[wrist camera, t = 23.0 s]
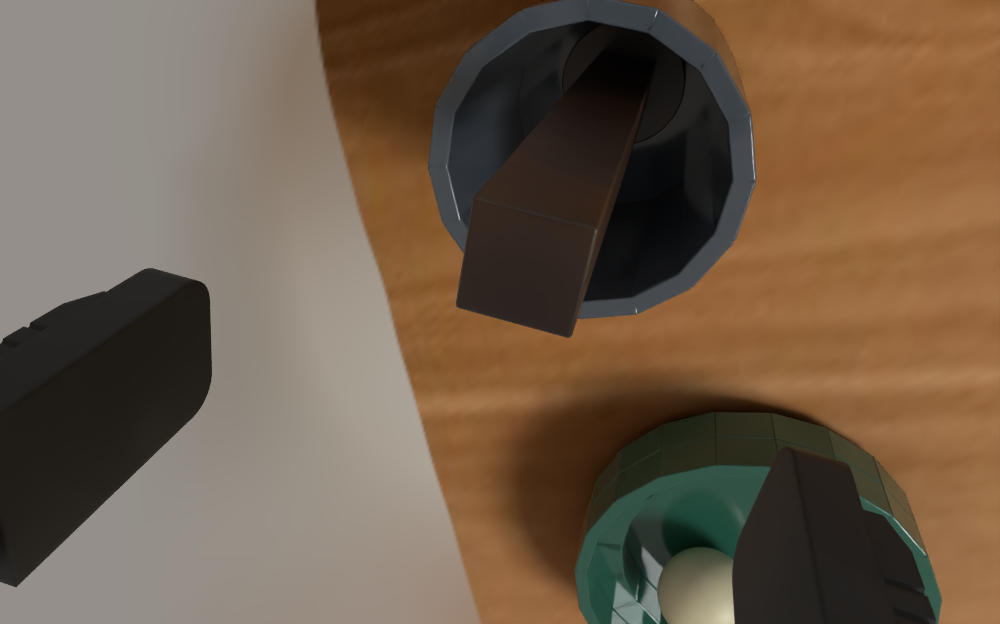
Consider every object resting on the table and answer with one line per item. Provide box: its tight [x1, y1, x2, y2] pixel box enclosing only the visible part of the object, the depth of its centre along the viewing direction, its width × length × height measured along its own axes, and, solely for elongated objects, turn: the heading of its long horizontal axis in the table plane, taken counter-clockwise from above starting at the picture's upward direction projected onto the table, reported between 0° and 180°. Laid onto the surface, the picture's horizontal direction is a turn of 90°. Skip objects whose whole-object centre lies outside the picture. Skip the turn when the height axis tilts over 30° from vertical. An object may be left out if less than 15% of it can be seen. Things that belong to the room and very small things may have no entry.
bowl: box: [575, 412, 942, 624], centre depth 34 cm, size 15×15×4 cm
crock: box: [428, 0, 756, 319], centre depth 24 cm, size 9×9×10 cm
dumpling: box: [657, 547, 735, 624], centre depth 35 cm, size 4×4×4 cm
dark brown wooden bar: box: [456, 23, 686, 338], centre depth 19 cm, size 4×4×18 cm
